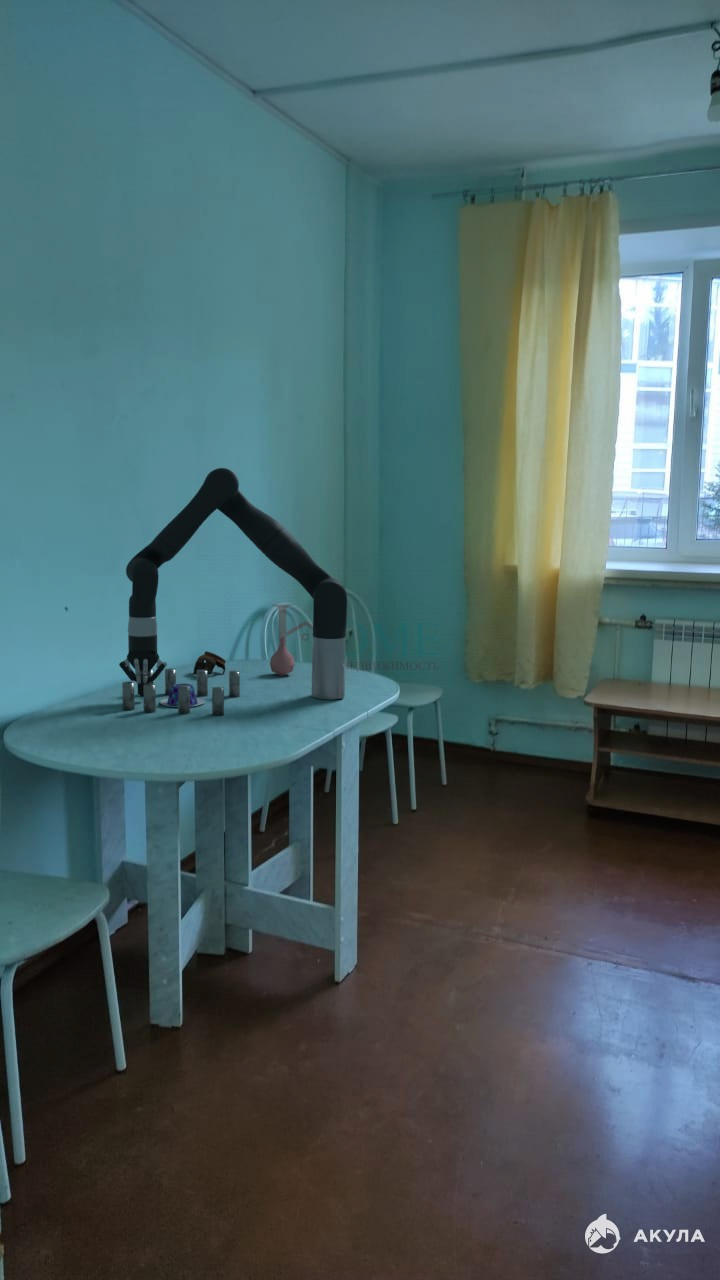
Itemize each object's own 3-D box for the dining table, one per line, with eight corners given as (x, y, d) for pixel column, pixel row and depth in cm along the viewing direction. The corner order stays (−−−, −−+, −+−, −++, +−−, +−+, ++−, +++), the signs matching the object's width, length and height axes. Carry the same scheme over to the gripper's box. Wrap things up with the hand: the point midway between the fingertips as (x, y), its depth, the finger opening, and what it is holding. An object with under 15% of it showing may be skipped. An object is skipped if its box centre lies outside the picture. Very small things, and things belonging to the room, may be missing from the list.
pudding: (157, 709, 243) (156, 689, 242) (162, 699, 255) (162, 680, 254) (203, 709, 244) (203, 690, 243) (206, 699, 256) (206, 680, 255)
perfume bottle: (293, 677, 287) (293, 639, 285) (268, 677, 287) (269, 638, 285) (295, 673, 295) (295, 635, 293) (271, 672, 295) (271, 635, 293)
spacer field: (240, 695, 261) (240, 670, 260) (222, 716, 237) (222, 689, 235) (146, 691, 263) (146, 667, 262) (118, 712, 238) (118, 685, 237)
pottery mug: (189, 673, 292) (201, 650, 293) (216, 686, 294) (228, 663, 295) (192, 671, 280) (204, 647, 282) (220, 684, 282) (232, 660, 284)
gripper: (170, 631, 251) (171, 694, 253) (122, 630, 251) (123, 692, 254) (163, 636, 243) (164, 700, 246) (113, 634, 244) (115, 698, 247)
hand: (143, 696), depth 250 cm, fingers closed
